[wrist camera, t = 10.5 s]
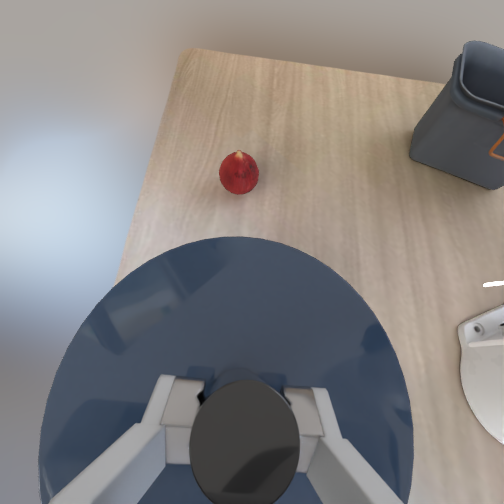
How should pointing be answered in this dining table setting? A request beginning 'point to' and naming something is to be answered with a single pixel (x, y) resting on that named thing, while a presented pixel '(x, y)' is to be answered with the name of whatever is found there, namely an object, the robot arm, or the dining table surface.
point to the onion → (239, 173)
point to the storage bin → (467, 120)
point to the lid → (230, 373)
